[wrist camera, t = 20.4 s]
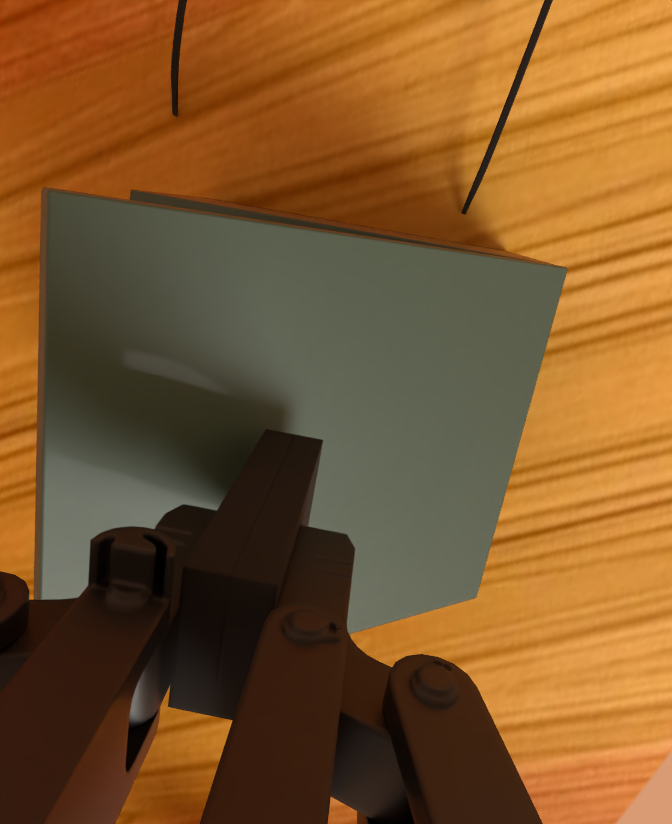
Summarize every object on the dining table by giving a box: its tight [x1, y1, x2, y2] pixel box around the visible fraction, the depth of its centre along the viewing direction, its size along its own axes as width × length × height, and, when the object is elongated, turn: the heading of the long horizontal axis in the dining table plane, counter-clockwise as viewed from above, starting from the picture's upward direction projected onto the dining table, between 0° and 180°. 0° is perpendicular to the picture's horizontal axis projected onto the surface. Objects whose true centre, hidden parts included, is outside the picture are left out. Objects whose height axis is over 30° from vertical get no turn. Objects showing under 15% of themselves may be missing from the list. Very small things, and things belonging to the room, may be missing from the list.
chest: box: [130, 190, 554, 265], centre depth 27 cm, size 15×13×9 cm
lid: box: [34, 187, 567, 634], centre depth 18 cm, size 15×13×1 cm
